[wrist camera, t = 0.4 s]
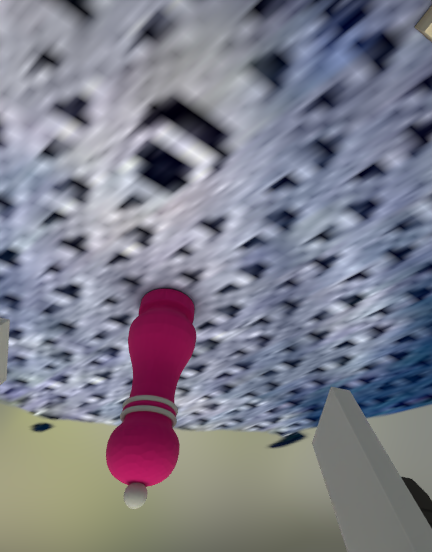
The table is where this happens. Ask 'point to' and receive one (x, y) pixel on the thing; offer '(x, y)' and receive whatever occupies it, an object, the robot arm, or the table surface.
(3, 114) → the table surface
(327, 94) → the table surface
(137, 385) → the pepper mill
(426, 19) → the board
